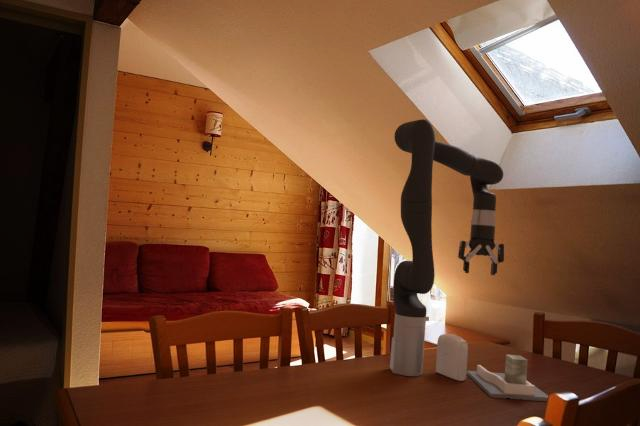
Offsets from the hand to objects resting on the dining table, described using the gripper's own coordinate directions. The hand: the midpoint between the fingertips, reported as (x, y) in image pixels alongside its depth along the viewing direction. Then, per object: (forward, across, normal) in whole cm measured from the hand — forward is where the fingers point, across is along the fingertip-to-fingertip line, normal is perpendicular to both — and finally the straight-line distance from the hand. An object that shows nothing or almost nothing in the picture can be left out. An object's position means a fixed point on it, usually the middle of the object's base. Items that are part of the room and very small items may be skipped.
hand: (479, 274), depth 171 cm
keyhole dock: (+30, +3, -20) cm, 36 cm away
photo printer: (+30, -11, -13) cm, 35 cm away
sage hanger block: (+29, +3, -26) cm, 39 cm away
